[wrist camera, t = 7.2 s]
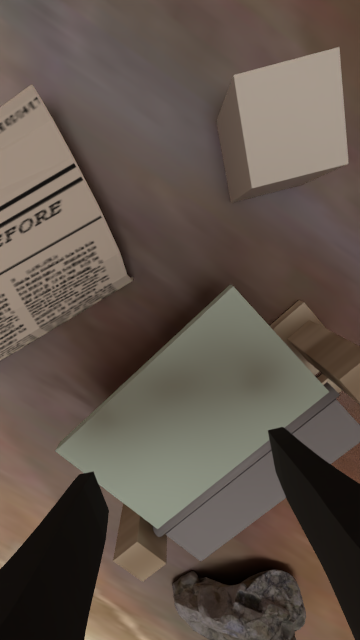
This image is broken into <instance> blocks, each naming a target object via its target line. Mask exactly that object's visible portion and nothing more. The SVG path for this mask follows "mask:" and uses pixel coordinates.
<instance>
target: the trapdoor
mask: <svg viewBox="0 0 360 640" xmlns="http://www.w3.org/2000/svg"><path fill="white" fill-rule="evenodd" d="M338 396H340V394H339V393H338V392H337V391H336V390H335V389H334V388H333V387H332V386H331V385H330V384H329V383H328V382H326V383H325V384H324V385H323V384H322V383H321V382H320V381H319V380H318V379H317V378H316V377H315V376H314V374H313V373H312V372H311V371H310V370H309V369H308V368H307V367H306V366H305V365H304V363H303V362H302V361H301V360H300V359H299V358H298V357H297V356H296V355H295V354H294V352H293V351H292V350H291V349H290V348H289V347H288V346H287V345H286V344H285V343H284V341H283V340H282V339H281V338H280V337H279V336H278V335H277V334H276V333H275V332H274V331H273V329H272V328H271V327H270V326H269V325H268V324H267V323H266V322H265V321H264V320H263V318H262V317H261V316H260V315H259V314H258V313H257V312H256V311H255V310H254V309H253V307H252V306H251V305H250V304H249V303H248V302H247V301H246V300H245V299H244V298H243V296H242V295H241V294H240V293H239V292H238V291H237V290H236V289H235V288H234V287H233V286H232V285H229V286H228V287H227V288H226V289H225V290H224V291H223V292H221V293H220V294H219V295H218V296H217V297H216V298H215V299H214V300H213V301H212V302H211V303H210V304H209V305H207V306H206V307H205V308H204V309H203V310H202V311H201V312H200V313H199V314H198V315H197V316H196V317H195V318H193V319H192V320H191V321H190V322H189V323H188V324H187V325H186V326H185V327H184V328H183V329H182V330H181V331H179V332H178V333H177V334H176V335H175V336H174V337H173V338H172V339H171V340H170V341H169V342H168V343H167V344H165V345H164V346H163V347H162V348H161V349H160V350H159V351H158V352H157V353H156V354H155V355H154V356H153V357H151V358H150V359H149V360H148V361H147V362H146V363H145V364H144V365H143V366H142V367H141V368H140V369H139V370H138V371H136V372H135V373H134V374H133V375H132V376H131V377H130V378H129V379H128V380H127V381H126V382H125V383H124V384H122V385H121V386H120V387H119V388H118V389H117V390H116V391H115V392H114V393H113V394H112V395H111V396H110V397H108V398H107V399H106V400H105V401H104V402H103V403H102V404H101V405H100V406H99V407H98V408H97V409H96V410H94V411H93V412H92V413H91V414H90V415H89V416H88V417H87V418H86V419H85V420H84V421H83V422H82V423H80V424H79V425H78V426H77V427H76V428H75V429H74V430H73V431H72V432H71V433H70V434H69V435H68V436H66V437H65V438H64V439H63V440H62V441H61V442H60V443H59V445H58V447H57V449H56V452H57V453H58V454H60V455H61V456H62V457H64V458H65V459H66V460H68V461H69V462H70V463H72V464H73V465H74V466H75V467H77V468H78V469H79V470H81V471H82V472H83V473H88V472H93V471H94V474H95V477H96V479H97V482H98V484H99V485H100V486H102V487H103V488H104V489H106V490H107V491H108V492H110V493H111V494H112V495H113V496H115V497H116V498H117V499H119V500H120V501H121V502H123V503H124V504H125V505H127V506H128V507H129V508H130V509H132V510H133V511H134V512H136V513H137V514H138V515H140V516H141V517H142V518H144V519H145V520H146V521H148V522H149V523H150V524H151V525H152V527H153V531H154V533H155V534H156V535H157V536H158V537H161V536H163V535H164V534H165V533H166V535H167V536H168V537H170V538H171V539H172V540H173V541H175V542H176V543H177V544H179V545H180V546H181V547H183V548H184V549H185V550H187V551H188V552H189V553H190V554H192V555H193V556H194V557H196V558H197V559H198V560H200V561H202V560H204V559H205V558H206V557H208V556H209V555H210V554H212V553H213V552H214V551H216V550H217V549H218V548H220V547H221V546H222V545H224V544H225V543H226V542H227V541H229V540H230V539H231V538H233V537H234V536H235V535H237V534H238V533H239V532H241V531H242V530H243V529H245V528H246V527H247V526H249V525H250V524H251V523H253V522H254V521H255V520H257V519H258V518H259V517H261V516H262V515H263V514H265V513H266V512H267V511H269V510H270V509H271V508H273V507H274V506H275V505H277V504H278V503H279V502H281V501H282V500H283V499H285V498H286V496H285V494H284V491H283V489H282V486H281V484H280V481H279V479H278V476H277V474H276V471H275V466H274V461H273V455H272V450H271V445H270V440H269V434H268V430H271V429H276V428H280V427H284V428H285V429H287V430H288V431H289V432H290V433H291V434H292V435H294V436H295V437H296V438H297V439H298V440H300V441H301V442H302V443H303V444H304V445H306V446H307V447H308V448H309V449H311V450H312V451H313V452H315V453H316V454H317V455H319V456H320V457H321V458H323V459H324V460H325V461H327V462H328V463H329V464H331V463H333V462H334V461H335V460H337V459H338V458H339V457H341V456H342V455H343V454H345V453H346V452H347V451H349V450H350V449H351V448H353V447H354V446H355V445H357V444H358V443H359V442H360V425H359V424H358V423H357V422H356V421H355V420H354V418H353V417H352V416H351V415H350V414H349V413H348V412H347V411H346V410H345V409H344V408H343V406H342V405H341V404H340V403H339V402H338V401H337V400H336V398H337V397H338Z"/></svg>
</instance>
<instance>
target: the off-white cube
mask: <svg viewBox="0 0 360 640" xmlns="http://www.w3.org/2000/svg"><path fill="white" fill-rule="evenodd" d="M216 124H217V129H218V135H219V140H220V146H221V151H222V157H223V162H224V167H225V173H226V178H227V184H228V189H229V195H230V200H231V203H233V202H237V201H241V200H245V199H249V198H253V197H257V196H260V195H264V194H268V193H272V192H276V191H280V190H284V189H288V188H292V187H296V186H300V185H303V184H305V183H308V182H310V181H312V180H314V179H316V178H319V177H321V176H323V175H325V174H327V173H329V172H332V171H334V170H336V169H338V168H340V167H343V166H345V165H347V164H348V151H347V139H346V126H345V113H344V101H343V88H342V76H341V63H340V50H339V47H338V48H334V49H330V50H327V51H323V52H319V53H315V54H312V55H308V56H304V57H300V58H297V59H293V60H289V61H285V62H281V63H278V64H274V65H270V66H266V67H263V68H259V69H255V70H251V71H248V72H244V73H240V74H236V75H233V78H232V81H231V83H230V86H229V89H228V91H227V94H226V97H225V99H224V102H223V105H222V107H221V110H220V113H219V115H218V118H217V121H216Z"/></svg>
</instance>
